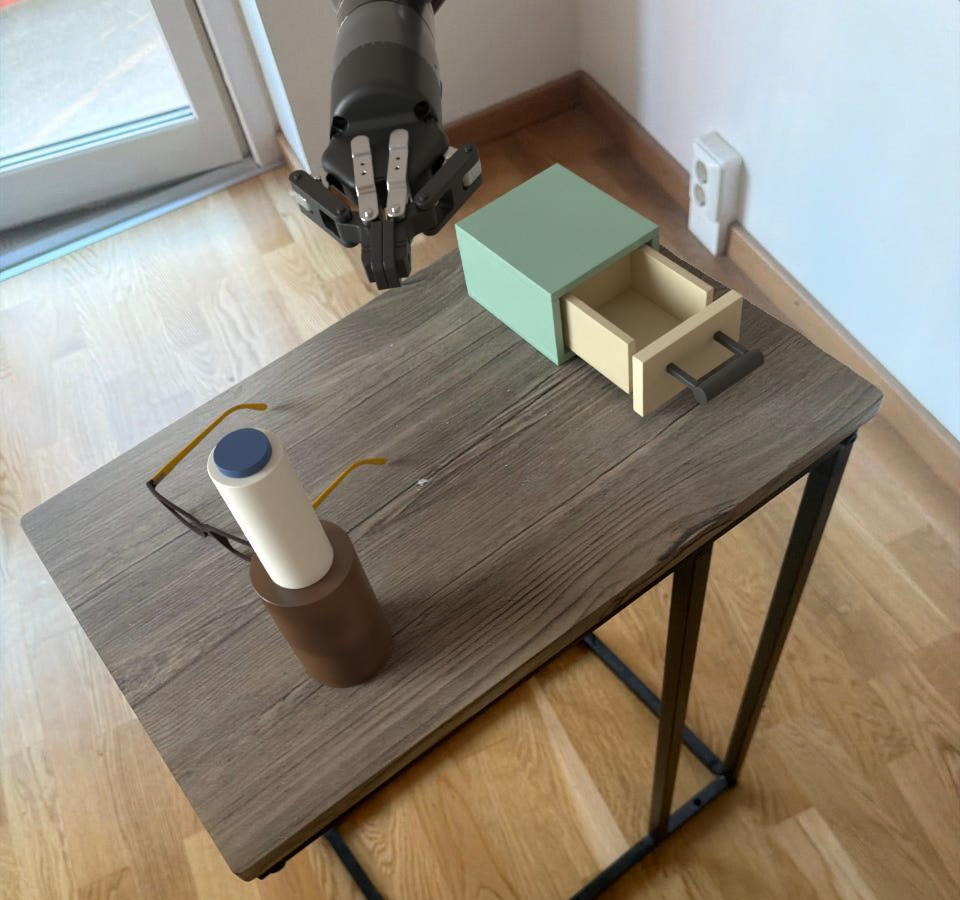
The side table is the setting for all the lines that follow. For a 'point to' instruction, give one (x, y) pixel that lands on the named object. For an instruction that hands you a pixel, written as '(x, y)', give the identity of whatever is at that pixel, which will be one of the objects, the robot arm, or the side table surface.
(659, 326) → the drawer
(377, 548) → the side table surface
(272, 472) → the tube
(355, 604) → the stand
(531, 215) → the cabinet
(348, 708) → the side table surface
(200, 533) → the eyeglasses
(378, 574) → the side table surface
